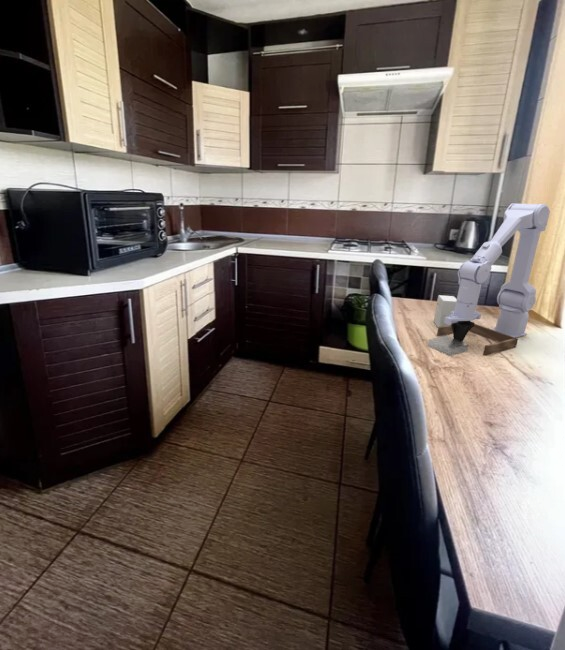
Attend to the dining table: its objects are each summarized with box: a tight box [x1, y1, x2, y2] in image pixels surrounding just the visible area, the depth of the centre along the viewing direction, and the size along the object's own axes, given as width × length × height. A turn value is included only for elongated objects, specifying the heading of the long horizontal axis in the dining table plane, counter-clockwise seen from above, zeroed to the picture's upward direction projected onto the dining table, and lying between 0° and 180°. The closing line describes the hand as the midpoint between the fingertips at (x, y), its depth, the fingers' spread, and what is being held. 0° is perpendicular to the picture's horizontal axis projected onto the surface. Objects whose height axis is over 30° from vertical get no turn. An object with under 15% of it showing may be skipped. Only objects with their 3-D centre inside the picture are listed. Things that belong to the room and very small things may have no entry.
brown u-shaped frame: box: [436, 323, 519, 356], centre depth 113 cm, size 15×18×3 cm
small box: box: [433, 294, 457, 328], centre depth 126 cm, size 8×6×10 cm
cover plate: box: [427, 335, 469, 357], centre depth 107 cm, size 8×8×2 cm
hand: (457, 342), depth 110 cm, fingers closed
